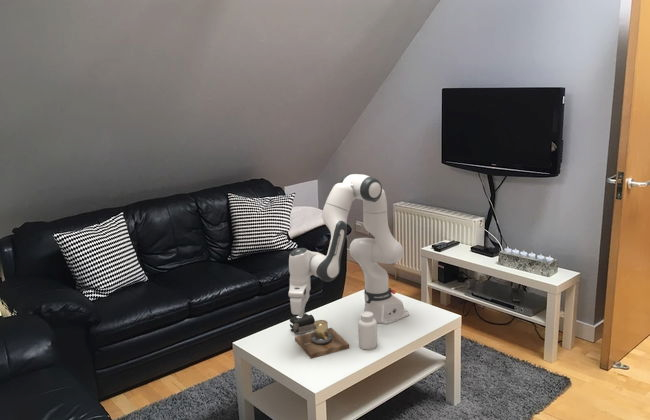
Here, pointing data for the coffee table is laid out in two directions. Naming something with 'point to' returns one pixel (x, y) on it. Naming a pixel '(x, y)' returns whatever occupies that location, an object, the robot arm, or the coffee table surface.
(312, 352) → the base plate
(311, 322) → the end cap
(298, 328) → the crank handle
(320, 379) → the coffee table surface
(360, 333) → the pill bottle
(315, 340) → the post collar
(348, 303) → the coffee table surface
